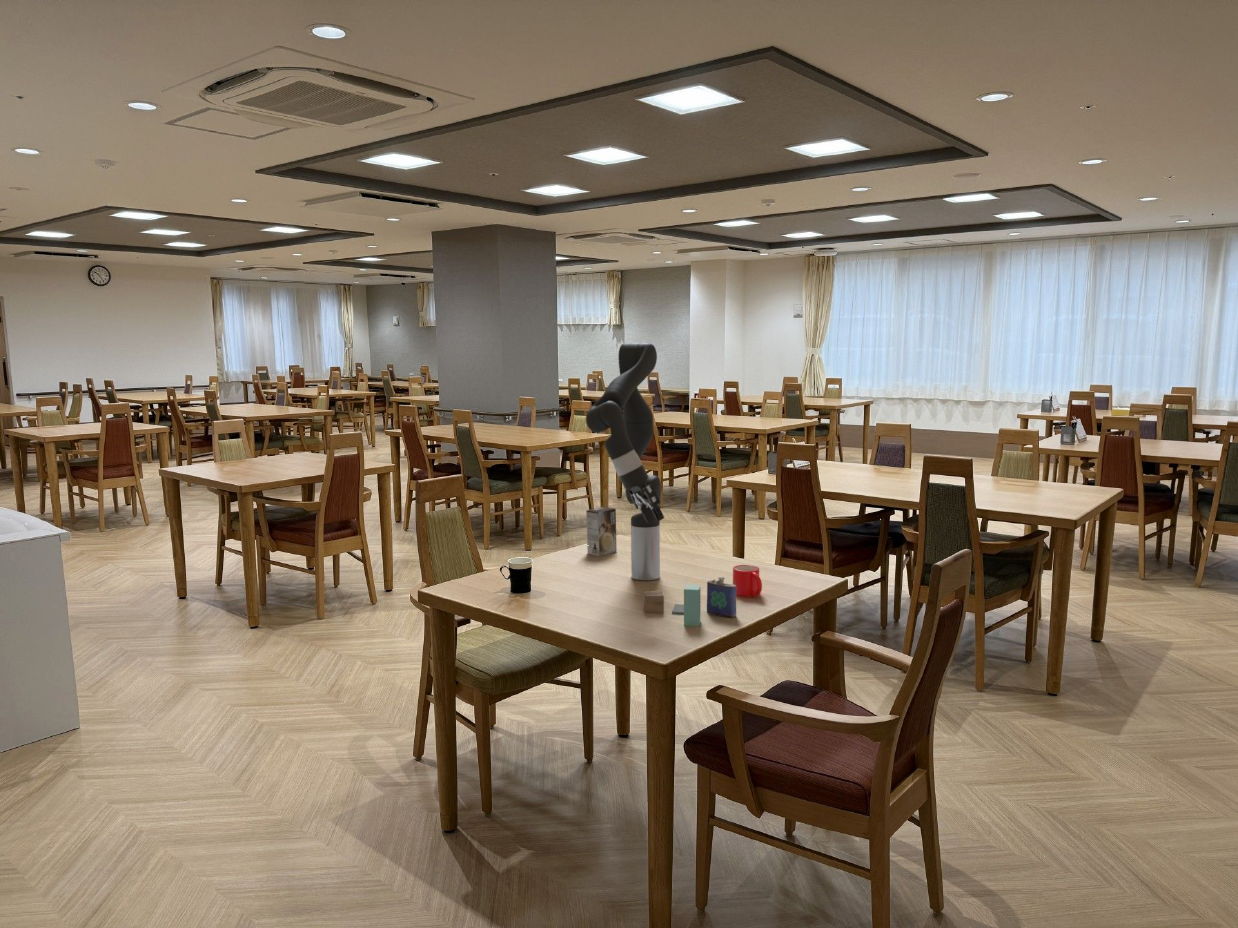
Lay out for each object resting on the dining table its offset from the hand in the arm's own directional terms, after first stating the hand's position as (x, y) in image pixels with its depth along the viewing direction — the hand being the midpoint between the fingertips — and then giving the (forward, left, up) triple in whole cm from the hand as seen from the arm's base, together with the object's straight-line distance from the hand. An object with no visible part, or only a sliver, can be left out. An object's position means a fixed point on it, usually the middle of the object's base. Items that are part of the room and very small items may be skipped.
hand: (655, 520), depth 245 cm
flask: (+4, +19, -25) cm, 32 cm away
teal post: (+13, +12, -25) cm, 31 cm away
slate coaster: (+2, +9, -26) cm, 27 cm away
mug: (-16, +26, -25) cm, 40 cm away
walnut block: (+3, 0, -25) cm, 26 cm away
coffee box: (-61, -29, -25) cm, 72 cm away
